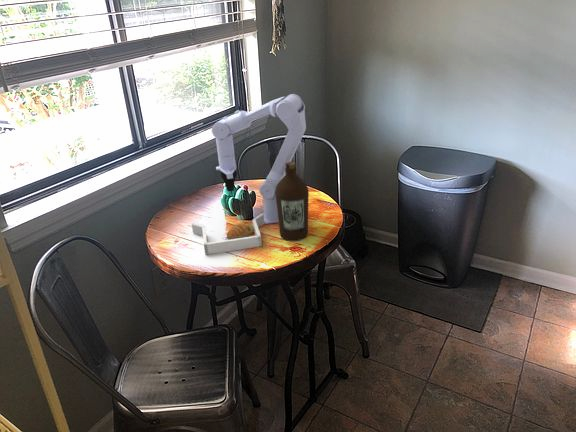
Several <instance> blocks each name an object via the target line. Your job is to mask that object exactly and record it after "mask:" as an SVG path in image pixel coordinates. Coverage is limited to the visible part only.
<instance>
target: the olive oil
mask: <svg viewBox="0 0 576 432" xmlns="http://www.w3.org/2000/svg"><path fill="white" fill-rule="evenodd" d="M285 166H286V167H285V173H286V175H285V176H284V177H283V178H282V179H281V180H280V182H279V183H278V184H277V186H276V190H275V196H276V204H277V212H278V220H279V222H278V229H279V230H278V231H279V235H280V238H282V239H283V240H285V241H289V242H296V241H301V239H302V240H304V239H305V238H307V237H308V236H309V196H310V195H309V193H310V192H309V188H308V187H309V186H308V185H307V183H306V182H305V181H304V180H303V179H302V178H301V177H300V176H299V174H297V167H296V162H294V161H291V162H287V163H285Z"/></svg>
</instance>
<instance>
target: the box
mask: <svg viewBox="0 0 576 432" xmlns="http://www.w3.org/2000/svg"><path fill="white" fill-rule="evenodd" d="M264 224H265V222H264V214H262V213H260V214H258V215H257V216H256V217H253V219H252V226H253V228H254V232H253V234H254V235H250V236H246V237H244V238H237V239H225V240H224V239H223V240H219V241H218V240H217V241H211V242H208V238H207V237H208V236H207V230H206V226H205V225H202V224H198V223H192V224H191V228H192V233H193V234H194V235H197V236H200V237H203V239H202V240H203V247H204V248H203V249H204V254H205V256H206V255H211V254H218V253H225V252H231V251H233V252H234V251H238V250H244V249H252V248H257V247H259V248H260V247H263V244H262V243H263V242H262V235H261V232H260V229H259V228H260V227H261V226H263V225H264Z"/></svg>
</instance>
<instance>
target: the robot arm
mask: <svg viewBox="0 0 576 432" xmlns="http://www.w3.org/2000/svg"><path fill="white" fill-rule="evenodd" d="M305 110H306V105H305V103H304V102H303V99H302V98H301V97H300V95H298V94H296V93H290V94H288V95H286V96H281V97H279V98H276V99H273V100H271V101H268V102H267V103H264V104H262V105H260V106H258V107H256V108H254V109H251V110H250V111H246V110H240V109H237V110H236V111H234V114H231V115H229V116H227V115H225V116H224V117H223V118H222V119H220V120H219V121H218V120H217V121H216V122H215V123H214V124H213V125H212V126H211V133H212V136H214V138H215V142H216V150H217V151H216V152H217V159H218V166H216V167H215V169H216V171H219V175H220V177H221V178H222V180H223V182H224V185H225V188H226V191H227V192H234V190H235V181H236V177H237V174H238V173H237V164H236V156H235V147H234V138H233V135H234V134H235V133H238V132H240V131H243V130H245V129H247V128H250V127H251V125H252V122H253V121H256V120H259V119H262V118H264V117H266V116H269V115H270V116H272V117H274V118H276V117H278V118H279V119H280V121H281V122H282V123H283V124H284V125H285V126H286V128H287V130H288V131H287V134H286V136H285V138H284V141H283V142H282V144H281V148H280V149H279V152H278V154H277V156H276V158H275V161H274V163H273V165H272V166H271V167H272V168H271V169H270V171H269V174H268V175H267V176H266V179H265V180H264V181H263V182H262V183H261V184H260V185H259V187H258V188H259V189H258V192H259V194H260V196H262V205H263V213H261V214H264V224H266V225H268V224H274V223H279V220H278V212H277V204H276V196H275V190H276V186H277V184H278V183H279V182H280V180H281V179H282V178H283V177H284V176H285V175H286V173H285V167H286V166H285V163H287V162H292V161H293V158H294V156H295V153H296V151H297V149H298V147H299V145H300V144H301V143H300V142H301V140H302V138H303V136H304V134H305V132H306V130H307V124H306V115H305V113H306V112H305Z"/></svg>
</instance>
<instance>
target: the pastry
mask: <svg viewBox="0 0 576 432" xmlns="http://www.w3.org/2000/svg"><path fill="white" fill-rule="evenodd" d="M252 234H254V228H253V224H252V223H251V222H249V221H248V220H242V221H241V222H239V223H236V224H234V225H233V226H232V227H231V228H230V229H229V230H228V231H227V233H226V239H227V240H230V239H237V238H244V237H249V236H251V235H252Z"/></svg>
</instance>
